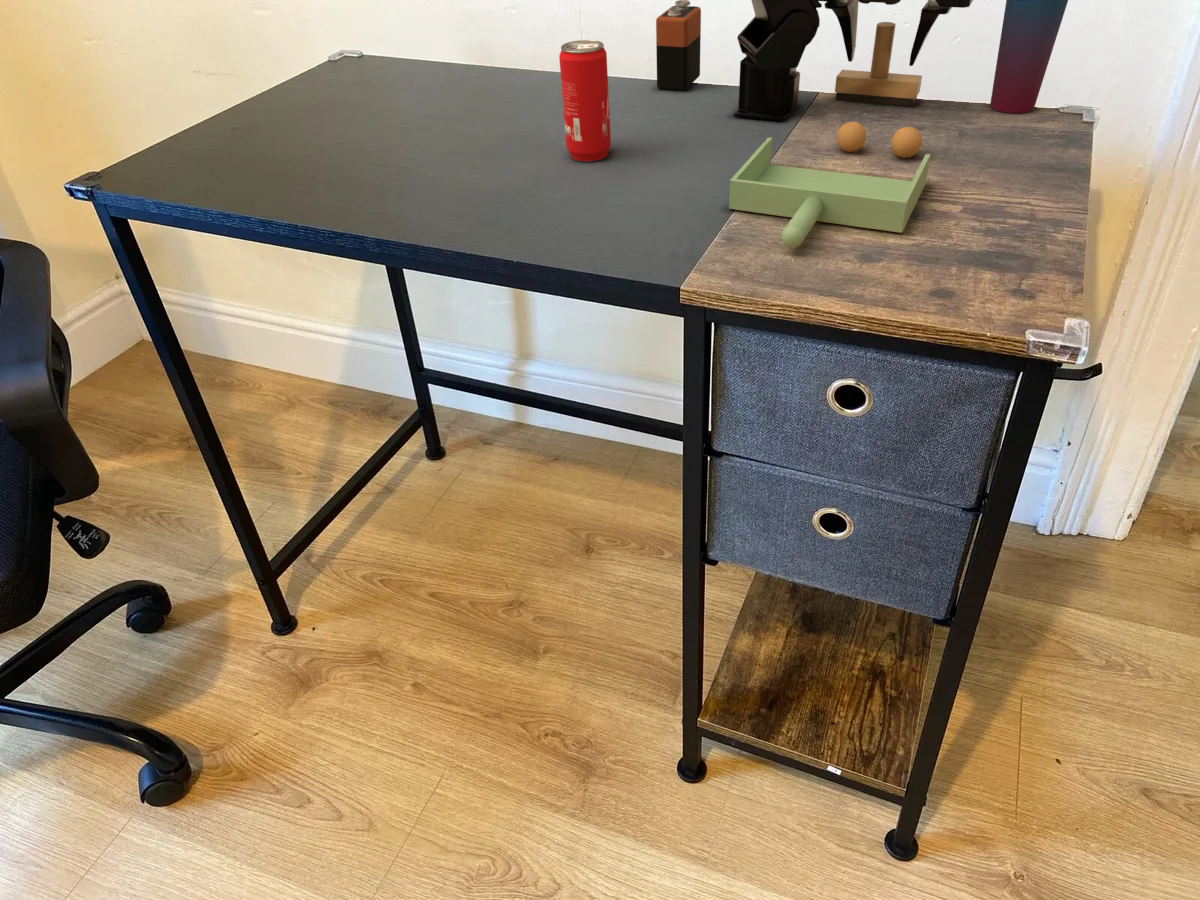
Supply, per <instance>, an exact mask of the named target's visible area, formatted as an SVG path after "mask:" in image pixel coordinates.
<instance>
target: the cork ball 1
mask: <svg viewBox="0 0 1200 900" xmlns="http://www.w3.org/2000/svg"><path fill="white" fill-rule="evenodd" d="M866 140H867V131H866V128H865V127H864V125H863V124H861V123H859V122H857V121H848V122H846V123H844V124H842V125H841V127H839V128H838V131H837V134H836V143H837V145H838V147H839V148H840V149H841V150H842V151H844V152H847V153H853V152H857V151H858V150H860V149H861V148H862V147H863V146H864V145H865V142H866Z"/></svg>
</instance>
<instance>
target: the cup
mask: <svg viewBox="0 0 1200 900" xmlns="http://www.w3.org/2000/svg"><path fill="white" fill-rule="evenodd" d="M1068 2H1069V0H1005V7H1004V13H1003V20H1002V24H1001V25H1002V27H1001V33H1000V38H999V45H998V51H997V59H996V65H995V70H994V77H993V83H992V90H991V96H990V104H989V106H990V108H991V109H992V110H994V111H996V112H997V111H998V112H1001V113H1006V114H1024V113H1025V114H1026V113H1029V112H1032V111H1033V110H1034V109H1035V107H1036V104H1037V100H1038V97H1039V94H1040V91H1041V88H1042V84H1043V81H1044V78H1045V75H1046V73H1047V69H1048V67H1049V62H1050V59H1051V57H1052V53H1053V50H1054V47H1055V44H1056V40H1057V38H1058V34H1059V32H1060V28H1061V24H1062V22H1063V18H1064V15H1065V11H1066V9H1067V6H1068Z"/></svg>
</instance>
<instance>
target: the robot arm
mask: <svg viewBox="0 0 1200 900" xmlns="http://www.w3.org/2000/svg"><path fill="white" fill-rule="evenodd" d="M901 1H902V0H751V4H752V8H753V13H754V17H753V18H751V20H750V21H749V23H747V25H746V26H745V27H744V28H743V29H742V30H741V31H740V33H739V34H737V38H736V39H737V42H738V45H739V48H740V52H741V53H742V54H744V55H745V56H744V57H743V59H742V60H740V62H739V82H738V83H739V84H738V106H737V108H736V109H734V111H733V116H734V117H738V118H748V119H756V120H767V121H777V122H782V121H785V120H786V119H787V117H789V115H790V114H791V113H792V112H793V111H794V110H795V108H797V106H798V105H799V93H800V81H801V72H800V71H798V70H797V68H798V66H799V64H800V62H801V60H802V56H803V54H804V52H805V50H806V48H807V46H808V45H809V44H810V43H812V41H813V39H814V38H815V37H816V34H817V32H818V29H819V28H820V26H821V25H820V24H821V23H820V22H821V21H820V20H821V19H820V15H819V10H818V9H820V8H822V6H823V4H824V8H825V9H826V10H831V11H833V14H834V15H835V16H836V18H837V20H838V23H839V27H840V30H841V34H842V39H843V44H844V48H845V52H846V57H847V61H848V62H850V63H851V62H853V61H854V59H855V58H854V57H855V53H856V52H855V51H856V48H857V47H856V46H857V34H858V33H857V32H858V17H859V16H858V15H859V4H860V3H861V4H864V5H865V4H866V5H868V4H870V3H881V4H885V5H887V6H893V5H896V4H899V3H900V2H901ZM973 1H974V0H927V2H926V3H925V4H924V6H923V7H922V9H920V10H921V11H920V17H919V18H920V19H919V22H918V26H917V30H916V33H915V37H914V41H913V43H912V48H911V52H910V57H909V65H908V66H909V67H913V66H914V64H915V63H916V60H917V58H918V56H919V54H920V53H921V50H922V48H923V46H924V44H925V42H926V40H927V37H928V36H929V33H930V31H931V30H932V28H933V27H934V24H935V22H936V21H937V19H938V18H939V16H940V15H947V14H949V13H950V11H951V10H952V8H963V9H964V8H970V6H972V3H973ZM821 2H825V3H823V4H822V3H821Z"/></svg>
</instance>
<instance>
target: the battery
mask: <svg viewBox="0 0 1200 900" xmlns="http://www.w3.org/2000/svg"><path fill="white" fill-rule="evenodd" d="M701 27H702V9H701V7H700V6H692V5H691V1H690V0H675V1H674V5H672V6H670V7H669V8H668V9H667V10H665V11H664V12H662V13H661V14H660V15H659V16H658V17H656V19H655V36H656V37H655V42H656V43H655V46H656V47H655V48H656V50H655V51H656V53H655V54H656V87H657V89H659V90H667V91H686V90H687V89H689V88H690V86H691V85H692V84H693V83H694V82H695V81H697V79H699V77H700V75H701V37H702V36H701V32H702V29H701Z"/></svg>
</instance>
